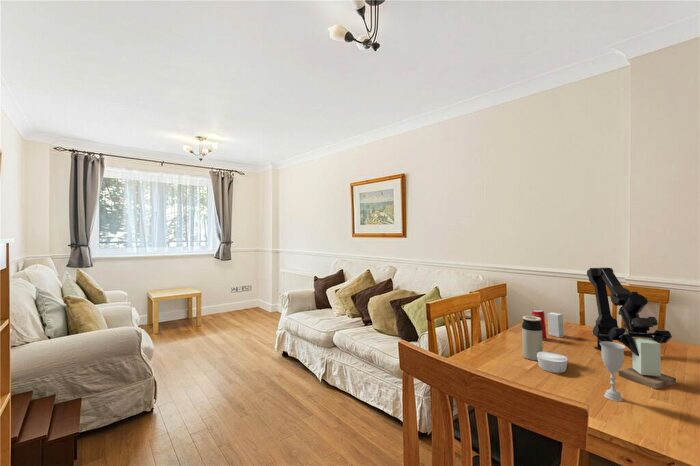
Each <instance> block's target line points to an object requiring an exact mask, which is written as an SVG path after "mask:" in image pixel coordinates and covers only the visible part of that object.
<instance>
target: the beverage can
mask: <svg viewBox="0 0 700 466" xmlns="http://www.w3.org/2000/svg"><path fill="white" fill-rule="evenodd" d="M531 316H535V317H539V318H541V321H540V323H541V325H542V341H544V340H547V338H548V337H547V328H546V326H547V325H546V318H545V312H544V310H543V309H532V312H531Z"/></svg>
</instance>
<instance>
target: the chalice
mask: <svg viewBox="0 0 700 466" xmlns="http://www.w3.org/2000/svg"><path fill="white" fill-rule="evenodd" d="M599 343H600V345H601V350H600V351H601V352H600V353H601V360H602V362H603V364H604V366H605V368H606V370H607V371H608V372H610V376H609V378H610V381H609V384H610V386H611V387H610V388H608V389H606V390H605V393H604V394H603V397H604V398H606V399H608V400H611V401H614V402H623V398H622V395H621V393H620V392H619V391H618V390H617V389H616V385H617V383H616V382H615V381H616V375H615V374H616V373H619V371H620V370H621V368H622V367H623V364H624V361H625V357H624V355H625V351H624V350H625V349H626V346H625V345H624V344H623V343H620V342H618V343H617V342H616V341H615V342H614V341H613V342H607V341H602V342H599Z"/></svg>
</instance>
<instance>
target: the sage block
mask: <svg viewBox="0 0 700 466" xmlns="http://www.w3.org/2000/svg"><path fill="white" fill-rule="evenodd" d="M632 338H633V342H634V344H635V346H636V348H637V350H638V353H639V355H638V356H637V355H635V354H634V353H633V352H632V351H631V352H632V353H631V354H632V355H631V357H632V359H631V360H632V361H631V363H632V367H633V369H634V370H636V371H637V372H639V373H640V374H641V375H653V376H661V372H662V371H661V370H662V368H661V366H662V365H661V364H662V363H661V360H662V359H661V358H662V357H661V343H658V342H656V341H654V340H652V339H649V338H639V337H632Z"/></svg>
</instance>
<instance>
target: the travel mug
mask: <svg viewBox="0 0 700 466" xmlns="http://www.w3.org/2000/svg"><path fill="white" fill-rule="evenodd" d="M522 320H523V322H522V323H521V334H522V335H521V336H522V338H521V341H522V342H521V343H522V356H523V358H525V360H529V361H530V360H531V361H538V358H537V353H538V352H544V351H543V350H544V349H543V340H542V325H541V323H540V321H541V318H539V317H535V316H532V315H523V316H522Z"/></svg>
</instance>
